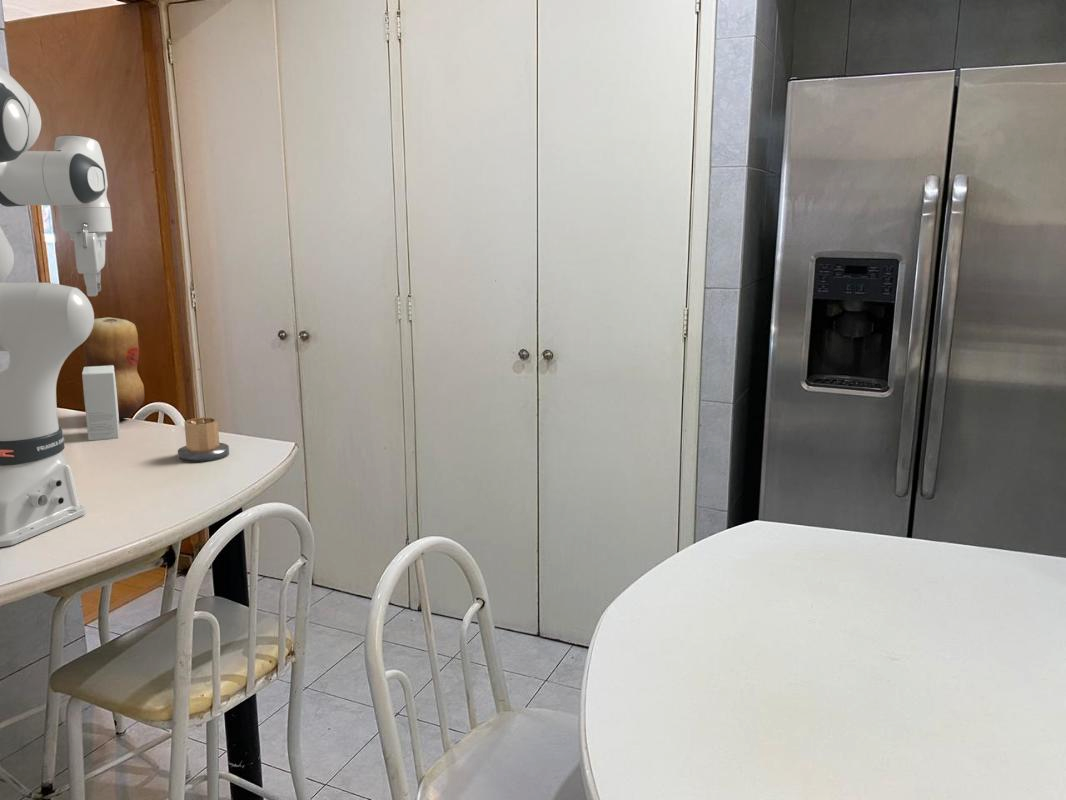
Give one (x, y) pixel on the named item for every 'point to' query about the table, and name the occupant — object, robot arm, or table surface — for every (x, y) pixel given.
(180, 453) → the duct stub
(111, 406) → the skincare box
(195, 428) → the sleeve
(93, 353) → the butternut squash
